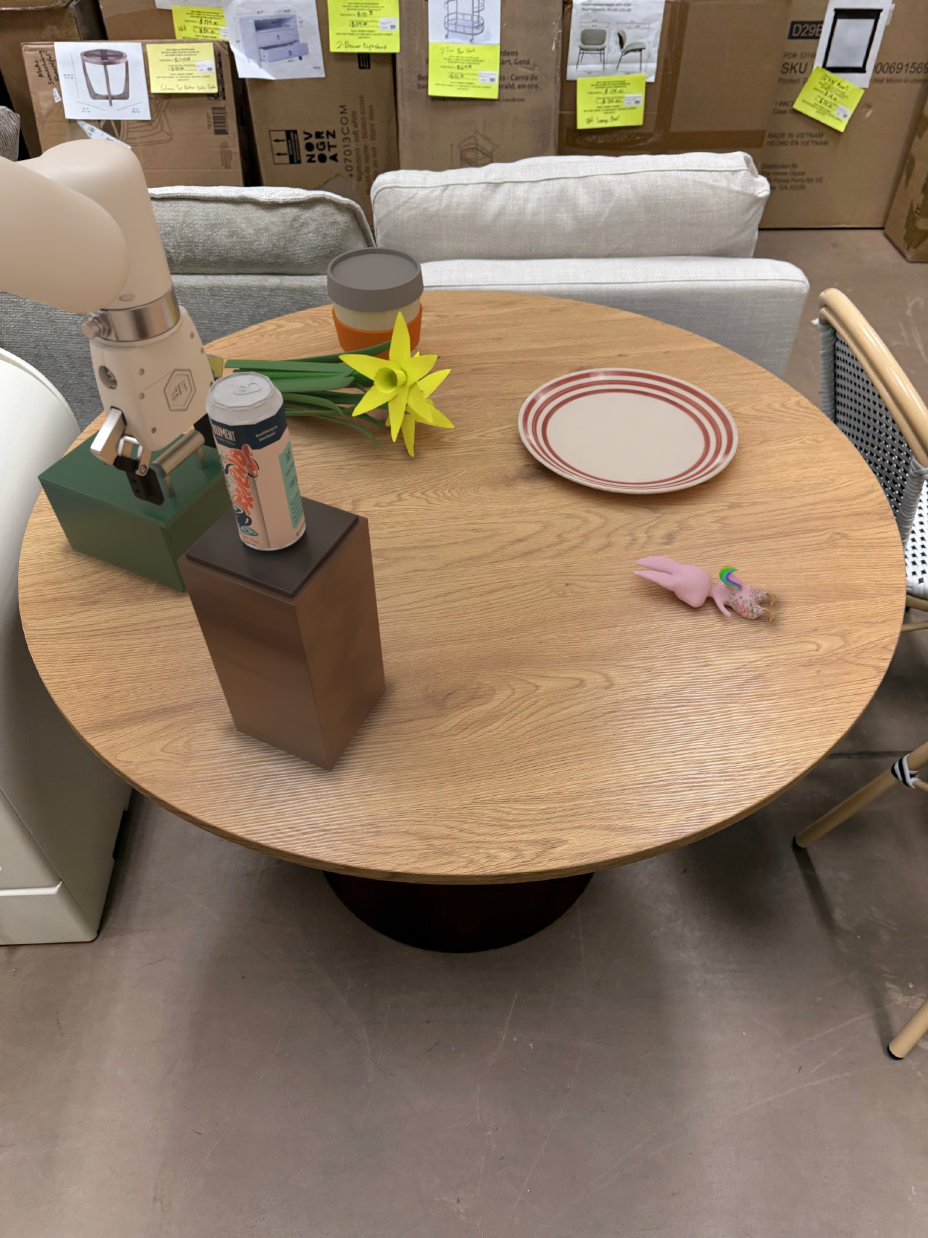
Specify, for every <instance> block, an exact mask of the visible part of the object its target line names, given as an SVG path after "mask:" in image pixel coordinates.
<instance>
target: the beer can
mask: <svg viewBox="0 0 928 1238" xmlns="http://www.w3.org/2000/svg"><path fill="white" fill-rule="evenodd" d="M284 407H285V406H284V403H283V398H282V395H281V393H280V391H279V390H278V389H277V388H276V387H275V386H274V385H273V383H272V382H271V381H270V379H269V378H268V377H267V376H264V375H261V374H258V373H255V372H239V373H233V372H232V373H229V374H226V375H225V376H222V377H221V378H220V379H217V380H216V381H215V383H214V384H213V385H212V387H211V388H210V389H209V394H208V397H207V400H206V405H205V408H206V411H207V413H208V417H209V420H210V424H211V428H212V432H213V435H214V439H215V443H216V447H217V450H218V454H219V458H220V462H221V465H222V469H223V473H224V477H225V480H226V484H227V488H228V492H229V495H230V499H231V503H232V507H233V510H234V514H235V518H236V522H237V525H238V529H239V534H240V538H241V539H242V541H243V542H244V543H245V544H246V545H248V546H250V547H252V548H254V549H257V550H278V549H283V548H285V547H287V546H290V545H291V544H293V543H294V542H296V541H297V540H298V539H299V538H300V537H301V536H302V535H303V533H304V531H305V526H306V523H305V518H304V512H303V507H302V501H301V496H302V495H301V491H300V485H299V480H298V474H297V470H296V469H297V468H296V464H295V459H294V454H293V448H292V442H291V441H292V440H291V437H290V431H289V425H288V420H287V416H286V414H285V412H286V411H285V409H284Z"/></svg>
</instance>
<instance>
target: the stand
mask: <svg viewBox="0 0 928 1238" xmlns="http://www.w3.org/2000/svg"><path fill="white" fill-rule="evenodd" d="M300 496H301V501H302V507H303V512H304V518H305V523H306V526H305V531H304V533H303V535H302V536H301V537H300V538H299V539H298V540H297V541H296V542H294V543H293V544H291V545H290V546H287V547H285V548H283V549H278V550H257V549H254V548H252V547H250V546H248V545H246V544H245V543H244V542H243V541H242V539H241V538H240V534H239V529H238V525H237V522H236V518H235V514H234V510H233V507H231V508H230V509H229V510H228V511H227V512H226V513H225V514H224V515H223V516H222V517H221V518H220V519H219V520H218V521H217V522H216V523H215V524H214V525H213V526H212V527H211V528H210V529H209V530H208V531H207V532H206V533H205V534H204V535H203V536H202V537H201V538H200V539H198V540H197V541H196V542H195V543H194V544H193V545H192V546H191V547H190V548H189V549H188V550H187V551H186V552H185V553H184V554H183V555H182V556H181V557H180V558H179V559H178V560H177V563H178V566H179V569H180V571H181V574H182V577H183V580H184V583H185V586H186V588H187V590H186V591H187V595H188V597H189V600H190V603H191V605H192V608H193V611H194V614H195V616H196V619H197V622H198V626H199V628H200V631H201V633H202V636H203V639H204V642H205V644H206V647H207V650H208V653H209V656H210V659H211V661H212V665H213V667H214V670H215V673H216V676H217V679H218V681H219V684H220V687H221V691H222V693H223V695H224V698H225V701H226V704H227V706H228V709H229V712H230V715H231V718H232V721H233V724H234V727H235V729H236V731H237V732H239V733H241V734H243V735H245V736H249V737H250V738H253V739H255V740H257V741H260V742H262V743H264V744H266V745H269V746H271V747H274V748H275V749H277V750H280V751H282V752H285V753H287V754H289V755H291V756H294V757H296V758H298V759H300V760H302V761H305V762H307V763H310V764H311V765H314V766H315V767H318V768H321V769H323V770H325V771H328V772H332V770H333V769H334V767H335V766H336V764H338V762H339V760H340V759H341V757H342V755H343V754H344V752H345V751H346V750H347V748H348V746H350V744H351V742H352V741H353V739H354V738H355V736H356V735H357V733H358V732H359V730H360V729H361V727H362V726H363V724H364V723H365V721H366V720H367V719H368V717H369V716H370V715H371V713H372V711H373V710H374V708H375V707H376V706H377V704H378V702H379V701H380V699H381V698H382V696H383V695H384V693H385V692H386V690H387V688H386V678H385V669H384V658H383V650H382V640H381V639H382V638H381V631H380V622H379V621H380V620H379V611H378V604H377V603H378V602H377V592H376V584H375V583H376V582H375V574H374V573H375V572H374V564H373V555H372V554H373V553H372V545H371V536H370V526H369V525H370V524H369V518H368V517H365V516H362V515H360V514H357V513H353V512H350V511H348V510H344V509H341V508H338V507H335V506H333V505H329V504H326V503H323V502H320V501H318V500H314V499H311V498H309V497H305V496H303V495H300Z"/></svg>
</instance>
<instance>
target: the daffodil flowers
mask: <svg viewBox="0 0 928 1238" xmlns="http://www.w3.org/2000/svg"><path fill="white" fill-rule="evenodd" d="M388 349H390V352H389V359H390V361H388V360H384V359H380V358H376V357H374V356H376V355H379V354H381V353H383V352H385V351H386V350H388ZM439 358H441V355H438V354H423V355H422V354H421V355H420V351H419V350H418V351H417V352H415V356H414V357H412V358H411V357H410V337H409V333H408V329H407V325H406V323H405V320H404V318H403V316H402V314H401V312H400V311H399V313H398V315H397V319H396V322H395V326H394V330H393V335H392V340H390V341H387V342H385V343H382V344H379V345H376V346H372V347H369V348H365V349H361V350H355V351H349V352H345V351H343V352H338V353H331V354H324V355H315V356H308V357H300V358H290V359H278V360H277V359H275V360H270V359H238V358H237V359H236V358H234V359H233V358H232V359H231V358H228V359H227V360H226V361H225V362H224V364H223V369H233V370H232V373H239V372H255V373H258V374H261V375H264V376H267V377H268V378H269V379H270V381H271V382H272V383H273V385H274V386H275V387H276V388H277V389H278V390H279V391H280V393H281V395H282V398H283V403H284V409H285V414H286V417H305V416H308V417H309V416H310V417H314V418H317V419H318V418H319V419H322V420H327V421H331V422H335V423H338V424H341V425H344V426H348V427H351V428H354V429H356V430H357V431H359V432H361V433H363V434H364V435H366V436H367V437H368V438H369V439H370V440H371V441H373V442H374V443H375V444H376V445H377V446H378V447H379V448H380V449H381V450H383V451H384V452H386V449H385V448H384V446H383V445H382V444H381V442H379V440H378V439H377V438H376V437H375V436H374V435H373V433H371V432H370V431H368V430H367V429H365V428H364V427H363V426H361V425H358V424H356V423H355V422H354V423H353V422H351V421H347V420H344V419H346V416H347V417H351V418H355V419H358V420H361V421H364V422H368V423H370V424H374V425H376V426H379V427H383V428H388V427H390V435H391V439H392V442H393V443H395V442H396V441H397V437H398V434H399V432H400V429H401V432H402V436H403V440H404V443H405V447H406V450H407V452H408V454H409V455H410V457H412V458H414V457H415V450H414V445H415V432H416V431H415V430H416V422H417V423H422V424H425V425H429V426H434V427H438V428H439V427H440V428H447V429H455V425H454V423H453V422H452V421H451V420H450V419H449V418H448V417H446V416H445V415H444V414H443V413H442V412H441V411H440V410H438V409H437V408H436V406H435V405H434V404H435V403H434V402H433V400H432V399H430V398H429V396H430V395H431V394H432V393H433V392H435V390H436V389H437V388H438V387H439V386H440V385H441V384H442V382H443V381H444V380H445V379H446V378H447V376H448V375H449V374H450V372H451V370H452V368H446V369H441V370H437V371H435V372H432V373H430V374H428V373H429V372H430V371H431V370H432V369H433V368H434V366H435V364H436V362H437V360H438V359H439ZM427 374H428V375H427ZM423 377H424V378H423ZM420 379H421V380H420ZM342 389H343V390H344V389H358V390H360V391H362V392H363V393H350V392H341V391H340V390H342ZM367 389H368V391H367ZM340 405H341V406H340ZM342 405H349V406H348V407H346V406H345V407H344V406H342ZM351 405H352V406H351ZM293 407H294V408H293ZM299 408H301V409H299ZM302 409H307V410H302ZM373 409H378V410H383V411H388V417H387V418H386V421H385V423H383V422H380V420H378V419H376V418H375V417H373V416H371V415H370V414H367V412H370V411H372V410H373ZM340 415H341V416H342V417H343V418H344V419H341V418H337V417H333V416H340Z"/></svg>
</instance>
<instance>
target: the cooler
mask: <svg viewBox="0 0 928 1238" xmlns="http://www.w3.org/2000/svg"><path fill="white" fill-rule="evenodd" d="M40 485H41V488H42V490H43V491H44V494H45V496H46V498H47V501H48V502H49V504H50V506H51V509H52V510H53V512H54V515H55V516H56V519H57V521H58V522H59V525H60V528H61V529H62V531H63V533H64V536H65V537H66V539H67V541H68V544H69V546H70V548H71V550H74V551H76V552H78V553H81V554H84V555H86V556H89V557H92V558H94V559H98V560H99V561H102V562H105V563H107V564H110V565H112V566H115V567H117V568H120V569H122V570H125V571H127V572H130V573H132V574H135V575H137V576H140V577H143V578H145V579H147V580H151V581H153V582H156V583H158V584H160V585H163V586H165V587H168V588H171V589H173V590H176V591H179V592H181V593H186V591H187V588H186V586H185V583H184V580H183V577H182V574H181V571H180V569H179V566H178V563H177V560H178V559H179V558H180V557H181V556H182V555H183V554H184V553H185V552H186V551H187V550H188V549H189V548H190V547H191V546H192V545H193V544H194V543H195V542H196V541H197V540H198V539H200V538H201V537H202V536H203V535H204V534H205V533H206V532H207V531H208V530H209V529H210V528H211V527H212V526H213V525H214V524H215V523H216V522H217V521H218V520H219V519H220V518H221V517H222V516H223V515H224V514H225V513H226V512H227V511H228V510H229V509H230V508H231V507H232V503H231V499H230V495H229V492H228V488H227V484H226V480H225V477H223V478H222V479H221V480H219V481H218V482H217V483H216V484H215V485H214V486H213V487H212V488H211V489H210V490H209V491H208V492H206V493H205V494H204V495H203V496H202V497H201V498H200V499H199V500H198V501H197V502H196V503H195V504H194V505H192V506H191V507H190V508H189V509H188V510H187V511H186V512H185V513H184V514H183V515H182V516H181V517H180V518H178V519H177V520H176V521H175V522H174V523H173V524H172V525H171V526H170V527H169V528H168V529H165V528H162V527H159V526H157V525H154V524H151V523H148V522H146V521H143V520H140V519H138V518H135V517H132V516H130V515H127V514H124V513H122V512H119V511H116V510H113V509H111V508H108V507H105V506H103V505H100V504H97V503H95V502H92V501H89V500H86V499H84V498H81V497H78V496H76V495H73V494H70V493H68V492H65V491H62V490H60V489H57V488H54V487H51V486H49V485H46V484H43V483H41V482H40Z"/></svg>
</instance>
